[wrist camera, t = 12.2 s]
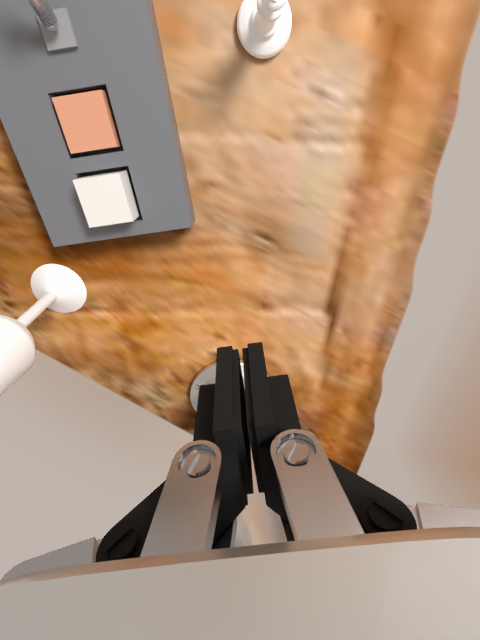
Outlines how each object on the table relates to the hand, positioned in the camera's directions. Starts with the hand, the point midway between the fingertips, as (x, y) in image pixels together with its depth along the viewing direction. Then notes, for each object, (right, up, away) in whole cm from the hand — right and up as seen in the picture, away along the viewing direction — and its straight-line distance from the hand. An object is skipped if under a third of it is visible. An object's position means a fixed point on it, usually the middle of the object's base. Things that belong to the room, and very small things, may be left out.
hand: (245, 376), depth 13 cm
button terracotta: (-14, +21, +20) cm, 32 cm away
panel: (-14, +22, +21) cm, 33 cm away
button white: (-13, +15, +21) cm, 29 cm away
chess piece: (+2, +29, +18) cm, 34 cm away
